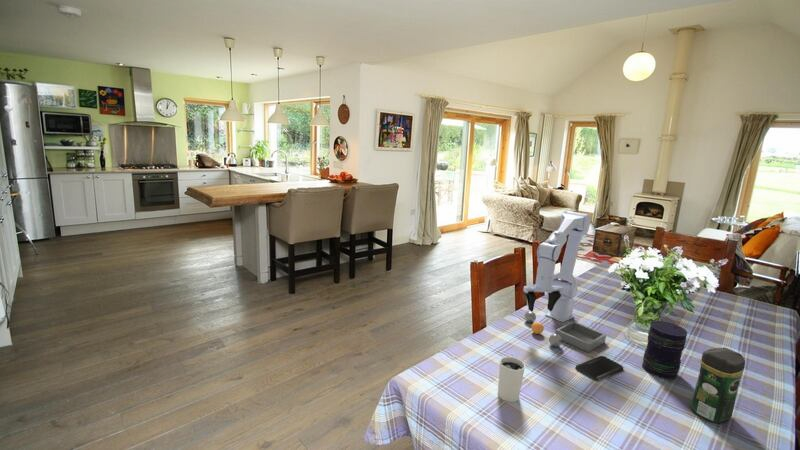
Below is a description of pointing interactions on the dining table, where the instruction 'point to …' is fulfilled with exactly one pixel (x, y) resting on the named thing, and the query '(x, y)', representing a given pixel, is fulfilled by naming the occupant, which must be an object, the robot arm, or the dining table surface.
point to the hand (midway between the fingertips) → (540, 310)
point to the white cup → (510, 378)
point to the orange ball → (537, 327)
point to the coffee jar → (717, 384)
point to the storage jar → (664, 349)
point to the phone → (599, 368)
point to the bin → (581, 336)
